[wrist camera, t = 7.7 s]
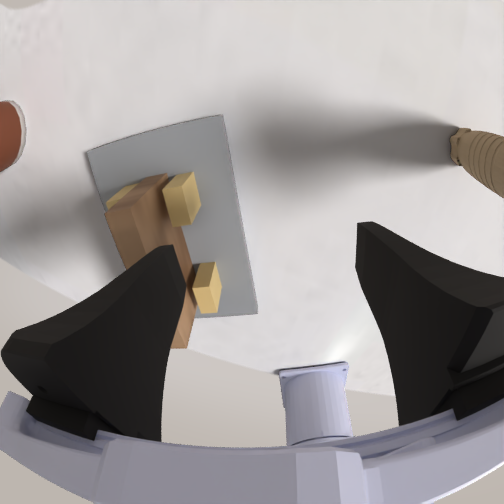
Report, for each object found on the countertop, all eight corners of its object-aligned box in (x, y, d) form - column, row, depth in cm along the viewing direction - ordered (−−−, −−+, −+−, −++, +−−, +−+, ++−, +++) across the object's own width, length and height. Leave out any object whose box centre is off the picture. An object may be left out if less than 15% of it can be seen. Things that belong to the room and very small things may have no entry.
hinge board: (257, 306, 25) (257, 340, 21) (154, 312, 26) (142, 343, 22) (222, 114, 16) (212, 119, 13) (93, 148, 17) (63, 163, 14)
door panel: (201, 291, 23) (186, 348, 18) (182, 293, 23) (165, 348, 18) (166, 172, 18) (130, 208, 12) (145, 177, 18) (104, 213, 13)
